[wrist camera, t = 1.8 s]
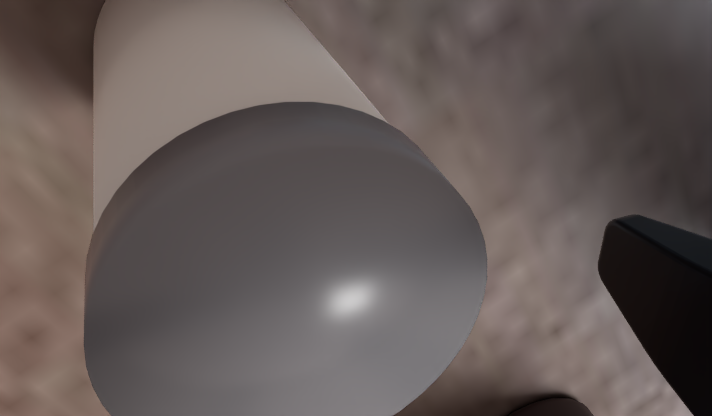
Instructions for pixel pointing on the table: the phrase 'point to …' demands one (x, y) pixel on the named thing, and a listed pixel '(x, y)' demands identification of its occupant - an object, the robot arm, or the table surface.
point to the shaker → (261, 225)
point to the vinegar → (554, 408)
